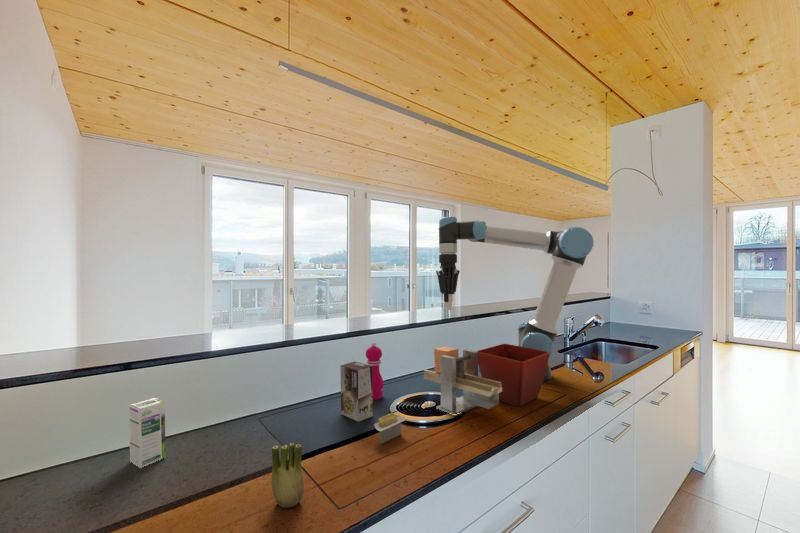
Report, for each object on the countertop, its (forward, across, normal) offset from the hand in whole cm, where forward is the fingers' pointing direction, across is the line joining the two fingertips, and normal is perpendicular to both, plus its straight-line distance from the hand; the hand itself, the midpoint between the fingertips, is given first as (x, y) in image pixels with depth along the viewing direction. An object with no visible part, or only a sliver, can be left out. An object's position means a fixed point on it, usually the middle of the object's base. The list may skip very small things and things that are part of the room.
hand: (448, 309), depth 152 cm
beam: (+26, +20, +22) cm, 40 cm away
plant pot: (+30, 0, +30) cm, 42 cm away
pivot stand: (+29, +20, +22) cm, 42 cm away
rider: (+21, +20, +16) cm, 33 cm away
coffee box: (+30, +50, +4) cm, 58 cm away
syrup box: (+30, +104, -9) cm, 109 cm away
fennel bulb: (+30, +85, +30) cm, 95 cm away
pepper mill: (+30, +36, -5) cm, 47 cm away
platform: (+30, +52, +23) cm, 64 cm away
